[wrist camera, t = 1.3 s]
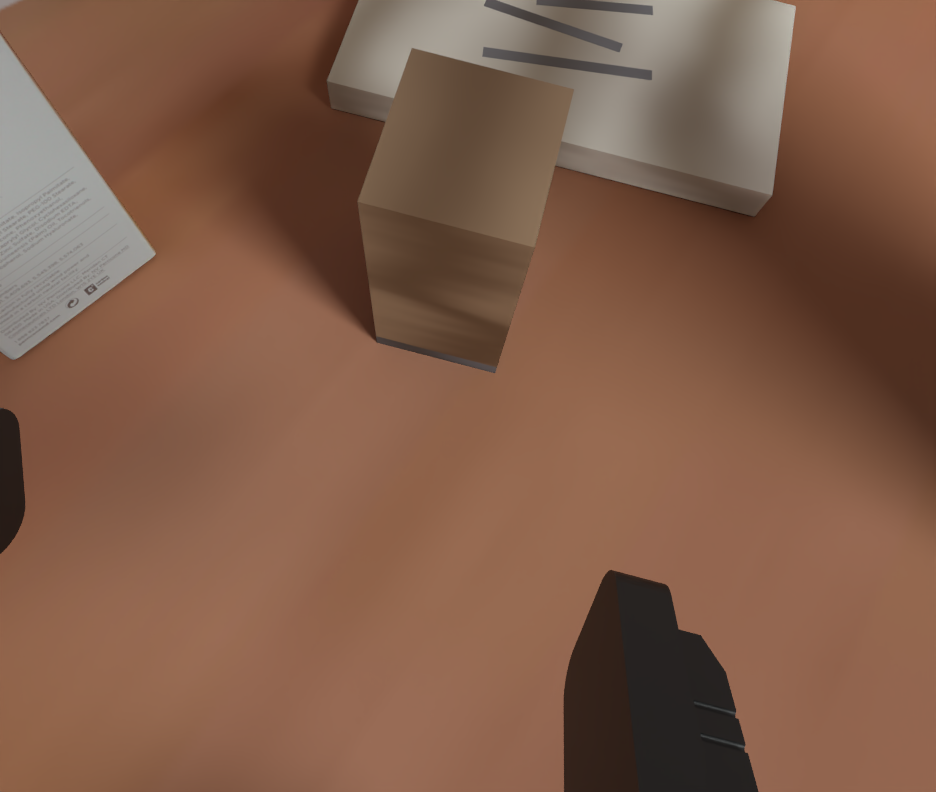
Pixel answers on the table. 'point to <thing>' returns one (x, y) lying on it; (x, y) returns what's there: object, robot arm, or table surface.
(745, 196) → the board
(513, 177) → the block
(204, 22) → the table surface
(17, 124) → the small box
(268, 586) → the table surface
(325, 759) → the table surface
